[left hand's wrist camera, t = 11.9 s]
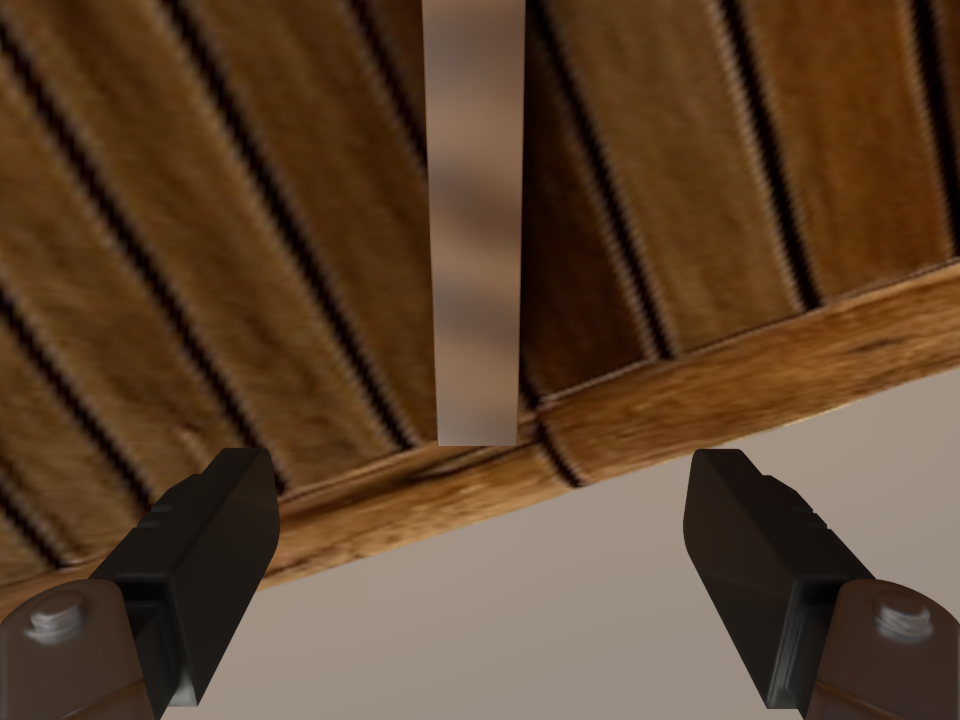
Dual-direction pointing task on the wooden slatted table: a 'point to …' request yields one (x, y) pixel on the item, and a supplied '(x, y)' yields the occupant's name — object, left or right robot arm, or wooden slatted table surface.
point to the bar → (475, 213)
